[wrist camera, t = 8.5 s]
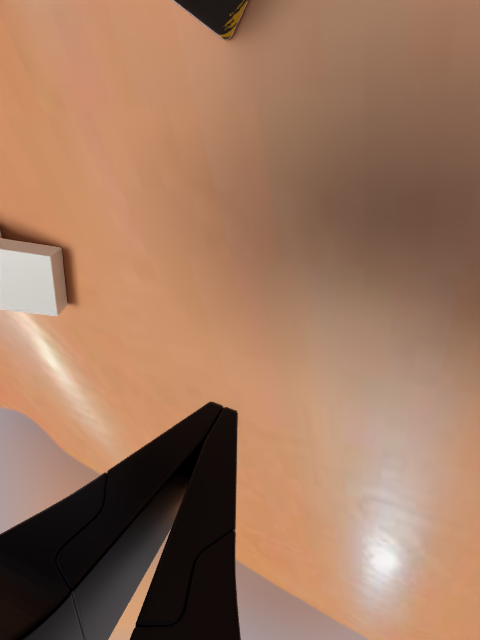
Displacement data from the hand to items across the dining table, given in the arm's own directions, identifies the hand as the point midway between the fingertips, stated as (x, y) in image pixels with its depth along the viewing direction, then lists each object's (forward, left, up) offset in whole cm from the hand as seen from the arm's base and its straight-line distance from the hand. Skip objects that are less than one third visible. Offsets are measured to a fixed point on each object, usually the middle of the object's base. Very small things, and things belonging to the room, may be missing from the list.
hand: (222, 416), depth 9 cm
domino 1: (+18, +6, -12) cm, 23 cm away
